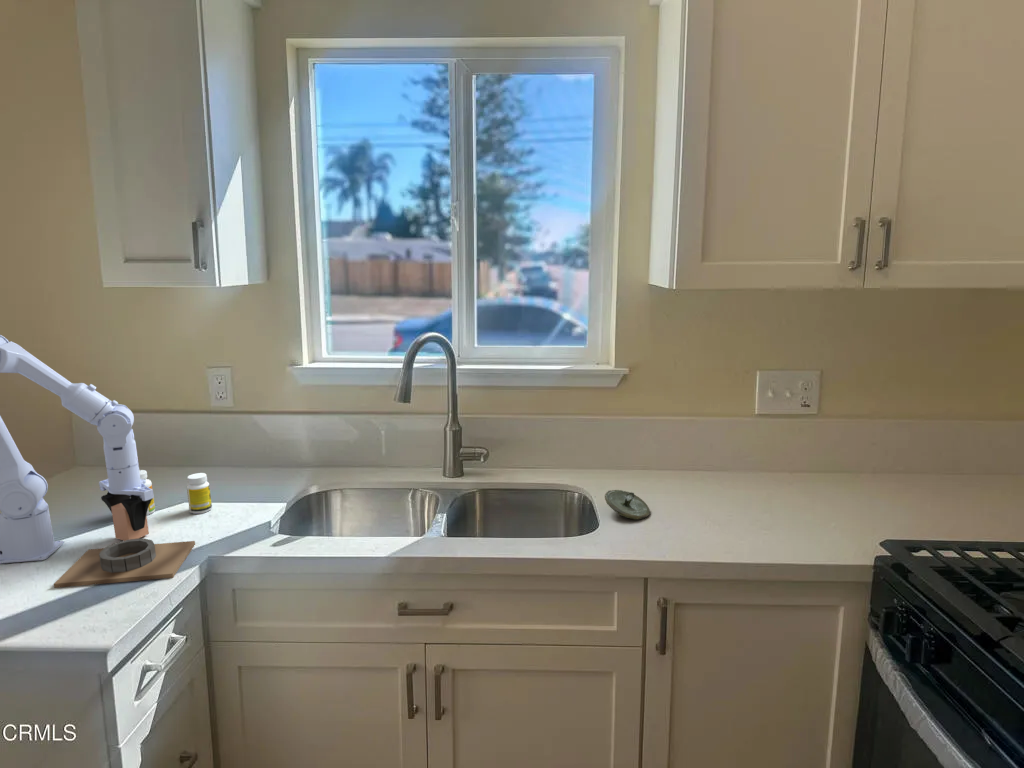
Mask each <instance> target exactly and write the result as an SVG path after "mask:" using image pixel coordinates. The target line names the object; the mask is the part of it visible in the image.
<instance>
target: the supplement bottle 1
mask: <svg viewBox="0 0 1024 768" xmlns="http://www.w3.org/2000/svg"><path fill="white" fill-rule="evenodd" d="M139 471H140V479H144V480H146V483H145V485H146V486H147V487H148V488H150V489H153V485H152V484H153V483H152V481H151V479H148V472H147V470H145V469H139ZM130 498H131V497H130ZM155 505H156V504H155V497H154V498H153V499H152V500H151V502H150V504H149V507H148V510H147V514H146V515H147V516H149V515H151V514H153V513H154V512H155V511H156V506H155Z"/></svg>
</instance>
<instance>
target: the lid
mask: <svg viewBox="0 0 1024 768" xmlns="http://www.w3.org/2000/svg"><path fill="white" fill-rule="evenodd" d="M604 500H605V502H606V505H608V507H609V508H611V510H613V511H614V512H616V513H617V514H619V515H620V516H623V517H624V518H628V519H631V520H635V521H637V520H639V521H640V520H643V519H646V518H648V517H649V516H650V514H651V511H650V508H649V506H648V505H647V503H646V502H645V501H644V500H643V499H642V498H641V497H639V495H638V496H637V495H636V494H635V492H632V491H631V492H629V491H626V490H622V489H620V490H619V489H612V490H608V491H606V493H605V494H604Z"/></svg>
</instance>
